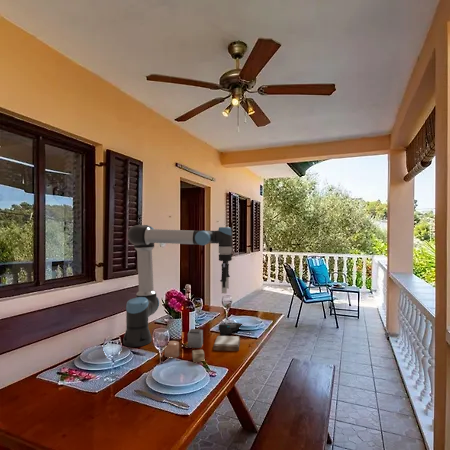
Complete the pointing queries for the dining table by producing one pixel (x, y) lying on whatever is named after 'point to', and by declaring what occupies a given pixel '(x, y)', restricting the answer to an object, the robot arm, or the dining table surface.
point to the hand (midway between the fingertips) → (225, 290)
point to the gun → (228, 328)
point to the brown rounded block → (172, 349)
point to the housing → (195, 338)
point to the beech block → (197, 355)
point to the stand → (227, 343)
